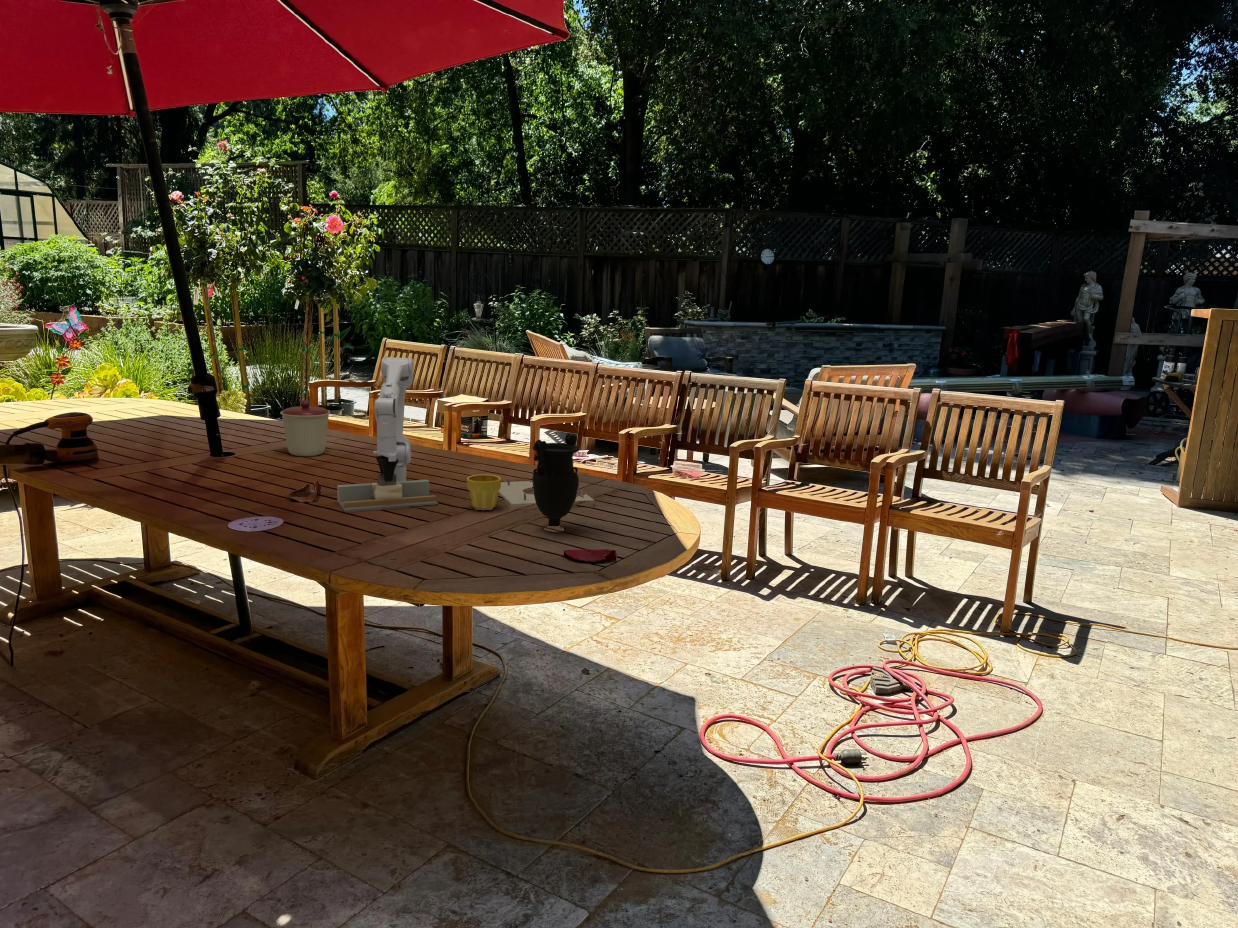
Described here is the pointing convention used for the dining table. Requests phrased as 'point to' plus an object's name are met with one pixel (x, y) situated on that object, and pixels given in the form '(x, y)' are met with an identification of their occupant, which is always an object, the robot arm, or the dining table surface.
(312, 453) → the canister
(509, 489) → the mounting panel
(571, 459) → the urn
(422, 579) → the dining table surface
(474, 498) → the plant pot
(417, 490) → the wall board
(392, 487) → the cabinet block
